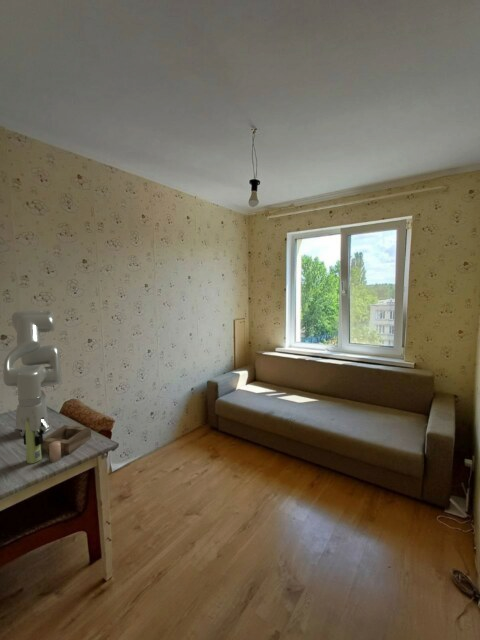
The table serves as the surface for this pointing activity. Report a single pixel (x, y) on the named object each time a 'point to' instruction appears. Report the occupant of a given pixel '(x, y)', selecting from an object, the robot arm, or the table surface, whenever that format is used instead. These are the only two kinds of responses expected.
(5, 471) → the table surface
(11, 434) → the table surface
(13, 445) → the table surface
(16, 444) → the table surface
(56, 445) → the short stub
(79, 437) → the square wooden frame
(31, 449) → the tube
